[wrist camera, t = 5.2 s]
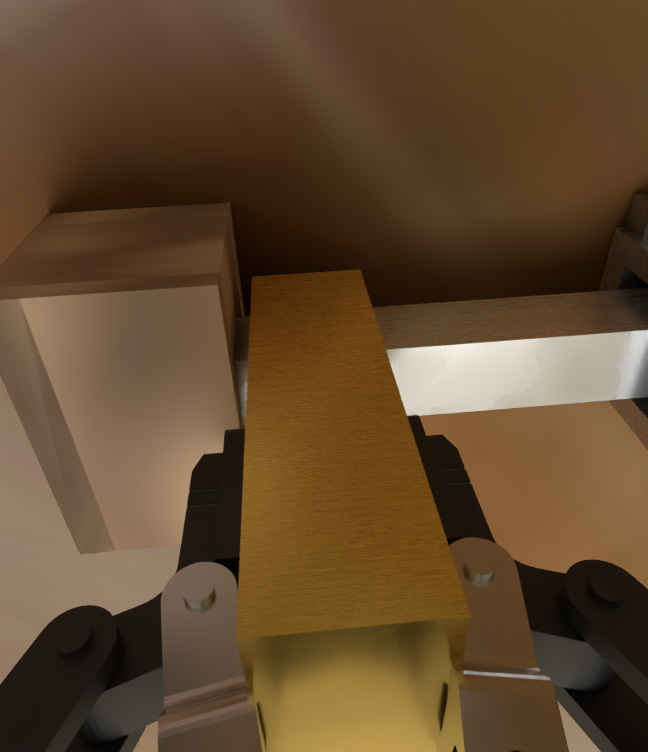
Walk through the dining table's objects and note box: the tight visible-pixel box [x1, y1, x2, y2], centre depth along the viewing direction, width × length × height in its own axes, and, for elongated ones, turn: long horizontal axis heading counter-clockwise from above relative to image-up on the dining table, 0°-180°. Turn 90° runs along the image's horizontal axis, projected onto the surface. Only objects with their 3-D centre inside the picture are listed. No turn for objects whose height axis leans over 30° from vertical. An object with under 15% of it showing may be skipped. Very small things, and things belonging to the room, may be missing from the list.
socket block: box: [0, 202, 245, 554], centre depth 16 cm, size 5×8×5 cm, turn 2°
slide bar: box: [233, 269, 648, 752], centre depth 13 cm, size 16×5×11 cm, turn 92°
